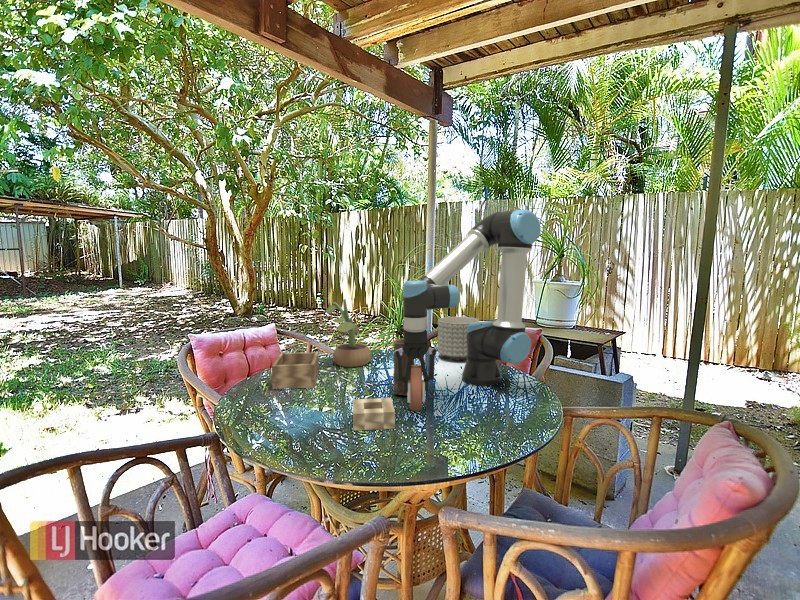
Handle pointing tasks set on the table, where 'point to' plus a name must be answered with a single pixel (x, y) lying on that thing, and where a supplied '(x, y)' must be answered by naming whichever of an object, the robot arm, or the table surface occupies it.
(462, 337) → the planter
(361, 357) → the potted plant
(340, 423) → the table surface
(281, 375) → the frame
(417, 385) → the peg
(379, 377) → the table surface
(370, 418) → the socket block
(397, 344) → the brown log
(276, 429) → the table surface
